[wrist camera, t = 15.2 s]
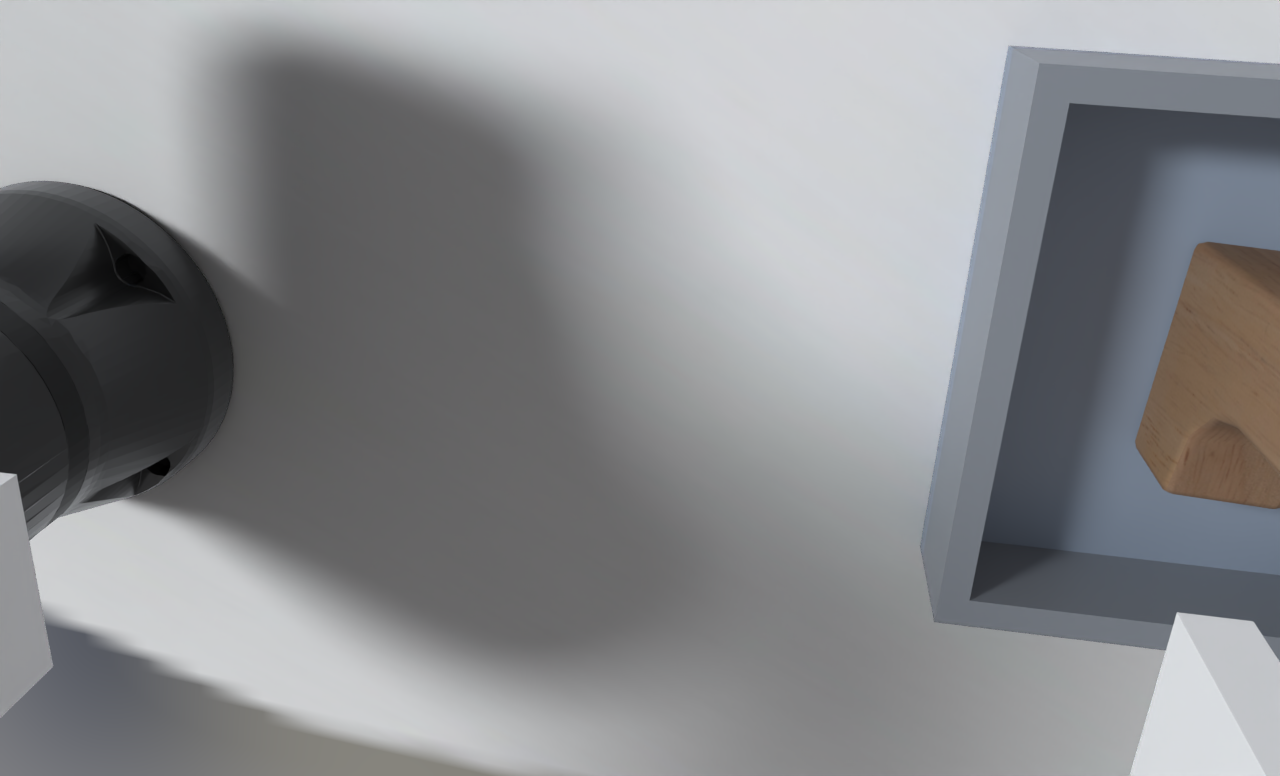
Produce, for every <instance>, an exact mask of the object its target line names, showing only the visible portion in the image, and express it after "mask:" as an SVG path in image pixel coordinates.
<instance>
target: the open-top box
mask: <svg viewBox="0 0 1280 776" xmlns="http://www.w3.org/2000/svg"><path fill="white" fill-rule="evenodd" d="M1204 242H1215V243H1223V244H1230V245H1238V246H1246V247H1254V248H1261V249H1269V250H1277V251H1280V64H1272V63H1257V62H1242V61H1227V60H1212V59H1198V58H1183V57H1168V56H1153V55H1138V54H1123V53H1108V52H1093V51H1078V50H1064V49H1049V48H1034V47H1019V46H1009V47H1008V52H1007V58H1006V64H1005V69H1004V75H1003V81H1002V86H1001V92H1000V98H999V103H998V109H997V115H996V120H995V126H994V132H993V137H992V143H991V149H990V154H989V160H988V166H987V171H986V177H985V183H984V188H983V194H982V200H981V205H980V211H979V217H978V222H977V228H976V234H975V239H974V245H973V251H972V256H971V262H970V268H969V273H968V279H967V285H966V290H965V296H964V302H963V307H962V313H961V319H960V324H959V330H958V336H957V341H956V347H955V353H954V358H953V364H952V370H951V375H950V381H949V387H948V392H947V398H946V404H945V409H944V415H943V421H942V426H941V432H940V438H939V443H938V449H937V455H936V460H935V466H934V472H933V477H932V483H931V489H930V494H929V500H928V506H927V511H926V517H925V523H924V528H923V534H922V540H921V545H920V548H921V553H922V558H923V564H924V569H925V574H926V580H927V585H928V590H929V596H930V601H931V606H932V612H933V617H934V622H939V623H947V624H955V625H963V626H972V627H980V628H988V629H996V630H1004V631H1012V632H1021V633H1029V634H1037V635H1045V636H1053V637H1061V638H1070V639H1078V640H1086V641H1094V642H1102V643H1110V644H1119V645H1127V646H1135V647H1143V648H1151V649H1159V650H1166V648H1167V645H1168V642H1169V638H1170V635H1171V631H1172V628H1173V624H1174V621H1175V617H1176V614H1177V612H1179V613H1187V614H1196V615H1204V616H1212V617H1221V618H1229V619H1238V620H1246V621H1253V622H1254V623H1255V625H1256V626H1257V628H1258V629H1259V631H1260V632H1261V634H1262V635H1263V637H1264V638H1265V640H1266V642H1267V643H1268V645H1269V646H1270V648H1271V649H1272V651H1273V652H1274V654H1275V655H1276V657H1277V658H1278V660H1279V662H1280V508H1278V509H1269V508H1262V507H1255V506H1249V505H1242V504H1236V503H1229V502H1222V501H1216V500H1209V499H1202V498H1196V497H1189V496H1182V495H1176V494H1171V493H1169V492H1167V491H1165V490H1163V489H1162V487H1161V486H1160V484H1159V483H1158V481H1157V480H1156V478H1155V476H1154V475H1153V473H1152V472H1151V470H1150V469H1149V467H1148V466H1147V464H1146V462H1145V461H1144V459H1143V458H1142V456H1141V455H1140V453H1139V452H1138V450H1137V448H1136V444H1135V440H1136V436H1137V433H1138V430H1139V427H1140V423H1141V420H1142V417H1143V414H1144V410H1145V407H1146V404H1147V401H1148V397H1149V394H1150V391H1151V388H1152V384H1153V381H1154V378H1155V375H1156V371H1157V368H1158V365H1159V362H1160V358H1161V355H1162V352H1163V349H1164V345H1165V342H1166V339H1167V336H1168V332H1169V329H1170V326H1171V323H1172V320H1173V316H1174V313H1175V310H1176V307H1177V303H1178V300H1179V297H1180V294H1181V291H1182V287H1183V284H1184V281H1185V278H1186V274H1187V271H1188V268H1189V265H1190V262H1191V258H1192V255H1193V252H1194V249H1195V248H1196V246H1197V245H1198V244H1199V243H1204Z"/></svg>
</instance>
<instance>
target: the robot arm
mask: <svg viewBox="0 0 1280 776" xmlns="http://www.w3.org/2000/svg"><path fill="white" fill-rule="evenodd" d="M232 380H233V360H232V350H231V343H230V339H229V334H228V330H227V327H226V323H225V320H224V317H223V314H222V312H221V309H220V307H219V305H218V302H217V300H216V298H215V296H214V294H213V292H212V290H211V288H210V286H209V285H208V283H207V281H206V280H205V278H204V276H203V275H202V273H201V272H200V270H199V269H198V267H197V266H196V265H195V263H194V262H193V261H192V260H191V258H190V257H189V256H188V254H187V253H186V252H185V251H184V250H183V249H182V248H181V247H180V245H179V244H178V243H177V242H176V241H175V240H174V239H173V238H172V237H171V236H170V235H169V234H167V233H166V232H165V231H164V230H163V229H162V228H161V227H159V226H158V225H157V224H156V223H154V222H153V221H152V220H151V219H149V218H148V217H146V216H145V215H143V214H142V213H141V212H139V211H138V210H136V209H134V208H133V207H131V206H129V205H128V204H126V203H124V202H122V201H120V200H118V199H116V198H114V197H111V196H109V195H107V194H105V193H102V192H99V191H96V190H94V189H90V188H87V187H83V186H80V185H75V184H70V183H63V182H54V181H32V182H24V183H18V184H13V185H9V186H6V187H3V188H0V718H1V717H2V716H3V715H4V714H5V713H6V712H7V711H8V710H9V709H10V708H11V707H12V706H13V705H14V704H15V703H16V702H17V701H18V700H19V699H20V698H21V697H22V696H23V695H24V694H25V693H26V692H27V691H28V690H30V688H31V687H33V685H35V684H36V683H37V682H38V681H39V680H40V679H41V678H42V677H43V676H44V675H45V674H46V673H47V672H48V671H49V670H50V669H51V668H52V667H53V664H52V658H51V653H50V648H49V643H48V638H47V632H46V627H45V621H44V616H43V611H42V606H41V600H40V595H39V590H38V585H37V579H36V574H35V569H34V563H33V558H32V553H31V548H30V542H29V540H31V539H32V538H33V537H34V536H35V535H37V534H38V533H39V532H40V531H41V530H43V529H44V528H45V527H46V526H48V525H49V524H50V523H52V522H53V521H54V520H55V519H57V518H58V517H62V516H65V515H69V514H72V513H76V512H80V511H83V510H87V509H90V508H94V507H97V506H101V505H105V504H108V503H112V502H115V501H119V500H123V499H126V498H130V497H133V496H136V495H139V494H141V493H144V492H146V491H148V490H150V489H152V488H154V487H156V486H158V485H160V484H161V483H163V482H165V481H166V480H168V479H169V478H171V477H172V476H173V475H174V474H176V473H177V472H178V471H179V470H180V469H182V468H183V467H184V466H185V465H186V464H188V463H189V462H190V461H191V460H192V459H193V458H195V457H196V456H197V455H198V454H199V453H200V452H201V451H202V450H203V449H204V448H205V447H206V446H207V444H208V443H209V442H210V441H211V439H212V438H213V437H214V435H215V434H216V432H217V430H218V429H219V427H220V425H221V423H222V421H223V418H224V416H225V413H226V410H227V407H228V404H229V400H230V395H231V390H232ZM1130 776H1280V662H1279V660H1278V658H1277V657H1276V655H1275V654H1274V652H1273V651H1272V649H1271V648H1270V646H1269V645H1268V643H1267V642H1266V640H1265V638H1264V637H1263V635H1262V634H1261V632H1260V631H1259V629H1258V628H1257V626H1256V625H1255V623H1254V622H1253V621H1246V620H1238V619H1229V618H1221V617H1212V616H1204V615H1196V614H1187V613H1179V612H1177V614H1176V617H1175V621H1174V624H1173V628H1172V631H1171V635H1170V638H1169V642H1168V645H1167V648H1166V652H1165V655H1164V659H1163V662H1162V666H1161V669H1160V673H1159V676H1158V679H1157V683H1156V686H1155V690H1154V693H1153V697H1152V700H1151V704H1150V707H1149V711H1148V714H1147V717H1146V721H1145V724H1144V728H1143V731H1142V735H1141V738H1140V742H1139V745H1138V748H1137V752H1136V755H1135V759H1134V762H1133V766H1132V769H1131V773H1130Z"/></svg>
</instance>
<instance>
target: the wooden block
mask: <svg viewBox="0 0 1280 776" xmlns="http://www.w3.org/2000/svg"><path fill="white" fill-rule="evenodd" d="M1135 444H1136V448H1137V450H1138V452H1139V453H1140V455H1141V456H1142V458H1143V459H1144V461H1145V462H1146V464H1147V466H1148V467H1149V469H1150V470H1151V472H1152V473H1153V475H1154V476H1155V478H1156V480H1157V481H1158V483H1159V484H1160V486H1161V487H1162V489H1163V490H1165V491H1167V492H1169V493H1171V494H1176V495H1182V496H1189V497H1196V498H1202V499H1209V500H1216V501H1222V502H1229V503H1236V504H1242V505H1249V506H1255V507H1262V508H1269V509H1278V508H1280V251H1277V250H1269V249H1261V248H1254V247H1246V246H1238V245H1230V244H1223V243H1215V242H1204V243H1199V244H1198V245H1197V246H1196V248H1195V249H1194V252H1193V255H1192V258H1191V262H1190V265H1189V268H1188V271H1187V274H1186V278H1185V281H1184V284H1183V287H1182V291H1181V294H1180V297H1179V300H1178V303H1177V307H1176V310H1175V313H1174V316H1173V320H1172V323H1171V326H1170V329H1169V332H1168V336H1167V339H1166V342H1165V345H1164V349H1163V352H1162V355H1161V358H1160V362H1159V365H1158V368H1157V371H1156V375H1155V378H1154V381H1153V384H1152V388H1151V391H1150V394H1149V397H1148V401H1147V404H1146V407H1145V410H1144V414H1143V417H1142V420H1141V423H1140V427H1139V430H1138V433H1137V436H1136V440H1135Z"/></svg>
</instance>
